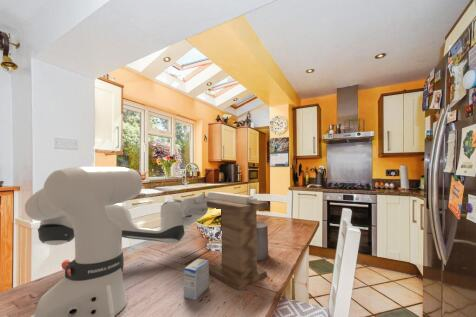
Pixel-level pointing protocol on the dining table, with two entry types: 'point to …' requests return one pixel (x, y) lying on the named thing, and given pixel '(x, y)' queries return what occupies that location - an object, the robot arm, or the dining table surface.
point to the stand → (238, 243)
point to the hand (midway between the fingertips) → (213, 194)
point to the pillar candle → (262, 241)
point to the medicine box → (196, 278)
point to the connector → (231, 197)
